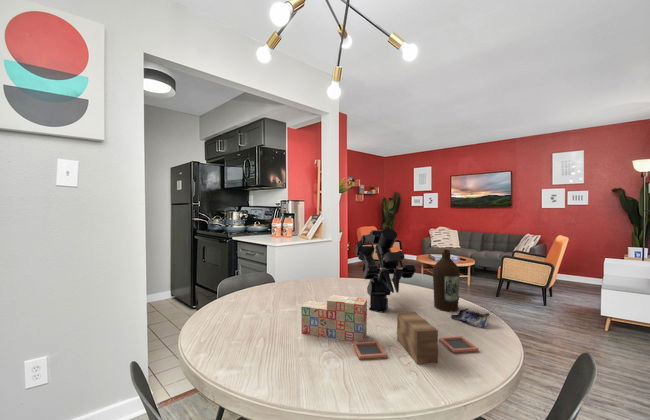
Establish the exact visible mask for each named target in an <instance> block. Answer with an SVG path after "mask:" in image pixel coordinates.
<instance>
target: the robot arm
mask: <svg viewBox="0 0 650 420" xmlns="http://www.w3.org/2000/svg"><path fill="white" fill-rule="evenodd" d="M397 237H398V233H397V232H396V231H395V230H394V229H392V228H391V227H390V226H384V227H383V229H380V230H379V229H373V230H370V232H369V233H368V234H363V235H361V239H360V240H359V241H358V242H357V243H356V245H355V255H356V257H357V258H358V260H360V261H362V262H363V264H364V266H365V268H364V271H363V278H364V280H369V283H368V285H367V287H366V289H367V290H366V291H367V292H366V293H367V294H368V295H369V296H370V297H369V299H370V302H369V303H370V305H369V306H370V307H369V308H368V310H369V311H374V312H379V313H385V312H386V311H387V310H388V308H389V298H388V296H391V294H392V293H393V294H394V293H395V292H396V294H398V293H399V292H400V291H399V290H400V280H401V278H403V279H411V278H413V276H414V275H415V273H416V271H417V268H416V266H415V264H413V263H412V264H411V263H407V264H403V265H402V267H398V266H399V262H401V261H404V260H405V259H406V258H405V253H404V250H398V251H392V248H393V247H394V244H395V242H396V240H397ZM364 244H371V245H364ZM374 245H375V246H374ZM374 253H375V254H376V256H377V260H378V261H377V263H376V261H375V259H374ZM377 264H378V265H379V267H378V265H377ZM390 275H392V279H391V276H390Z"/></svg>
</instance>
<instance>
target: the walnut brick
mask: <svg viewBox="0 0 650 420" xmlns="http://www.w3.org/2000/svg"><path fill="white" fill-rule="evenodd" d="M396 314H397V315H396V319H397V321H396V323H397V324H396V327H397V328H396V335H397V336H396V337H397V338H396V339H397V340H396V341H397V342H398V344H399V345H400V347H402V348H403V350H405V352H406V353H407V355H408V356H409V357H410V358H411V360H412V361H414V363H415V364H416V365H428V364H438V363H439V360H438V359H439V330H438V329H437V328H435V326H433V325H432V324H431V323H430V322H428V321H427V320H426V319H425V318H424V317H422V316H421V315H419V314H418V313H417V312H415V311H408V312H407V311H405V312H397V313H396Z"/></svg>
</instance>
